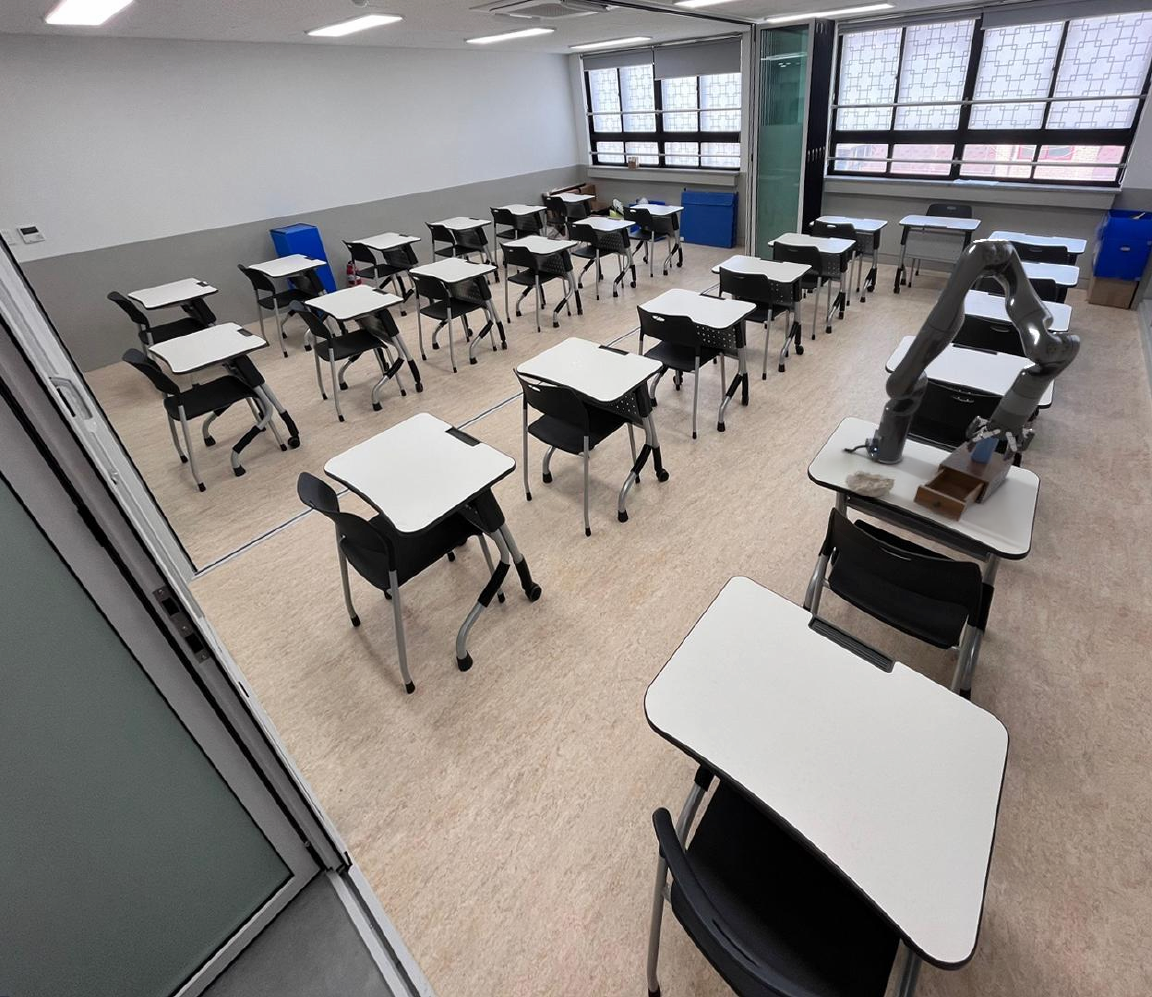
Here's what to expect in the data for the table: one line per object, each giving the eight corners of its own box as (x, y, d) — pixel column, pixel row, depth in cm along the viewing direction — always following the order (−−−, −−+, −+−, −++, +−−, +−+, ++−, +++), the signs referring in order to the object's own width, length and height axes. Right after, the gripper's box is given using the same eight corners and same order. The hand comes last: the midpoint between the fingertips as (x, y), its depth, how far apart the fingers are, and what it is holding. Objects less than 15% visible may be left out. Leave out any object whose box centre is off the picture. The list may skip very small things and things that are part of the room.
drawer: (956, 523, 170) (963, 507, 167) (911, 503, 179) (916, 487, 175) (982, 497, 178) (990, 480, 175) (938, 479, 187) (944, 463, 183)
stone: (873, 509, 185) (896, 490, 178) (840, 487, 186) (862, 468, 179) (875, 496, 190) (898, 477, 183) (844, 475, 191) (865, 455, 184)
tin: (986, 464, 179) (997, 437, 173) (967, 458, 183) (978, 431, 177) (994, 457, 182) (1005, 430, 176) (975, 451, 185) (986, 424, 179)
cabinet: (980, 503, 178) (989, 482, 173) (932, 483, 187) (939, 463, 182) (1005, 479, 186) (1014, 458, 181) (957, 461, 195) (965, 441, 190)
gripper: (1048, 405, 147) (1015, 454, 158) (985, 392, 152) (958, 440, 163) (1050, 420, 142) (1016, 470, 153) (986, 406, 147) (957, 455, 158)
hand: (986, 454), depth 158 cm, fingers open, 8 cm apart
